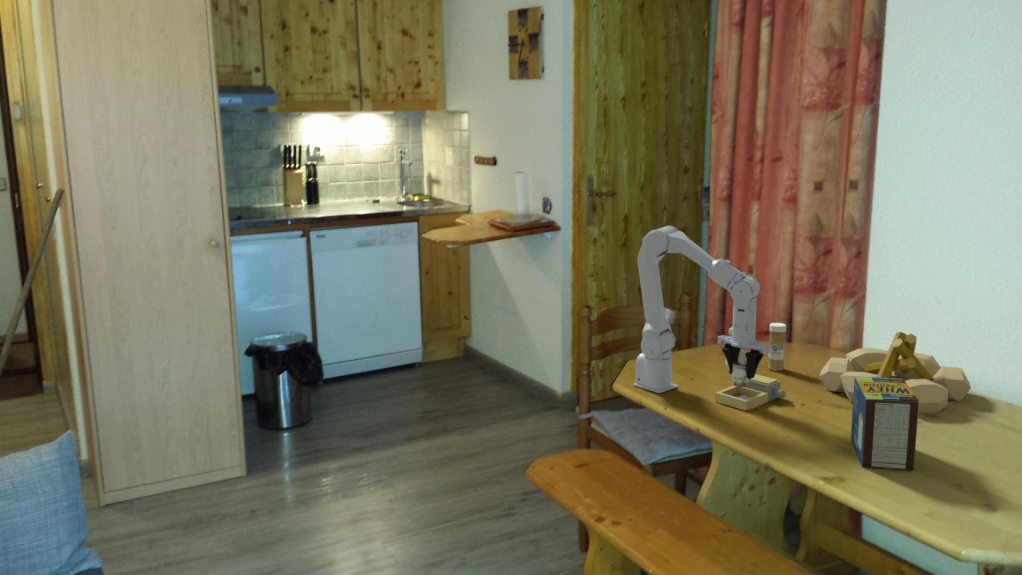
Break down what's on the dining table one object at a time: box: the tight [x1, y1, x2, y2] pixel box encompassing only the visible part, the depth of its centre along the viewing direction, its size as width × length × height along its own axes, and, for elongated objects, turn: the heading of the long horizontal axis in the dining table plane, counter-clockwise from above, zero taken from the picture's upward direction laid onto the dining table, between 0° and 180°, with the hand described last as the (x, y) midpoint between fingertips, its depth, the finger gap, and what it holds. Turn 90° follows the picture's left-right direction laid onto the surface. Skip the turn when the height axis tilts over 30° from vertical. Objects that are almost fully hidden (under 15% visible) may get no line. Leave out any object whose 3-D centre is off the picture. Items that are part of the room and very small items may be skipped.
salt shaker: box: [724, 326, 746, 373], centre depth 245 cm, size 6×6×13 cm
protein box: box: [850, 376, 919, 471], centre depth 185 cm, size 10×15×16 cm
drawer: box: [714, 373, 787, 412], centre depth 221 cm, size 12×15×5 cm
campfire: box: [819, 331, 972, 415], centre depth 224 cm, size 35×34×17 cm
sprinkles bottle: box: [767, 322, 787, 372], centre depth 246 cm, size 5×5×14 cm
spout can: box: [731, 360, 751, 387], centre depth 219 cm, size 5×5×6 cm
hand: (742, 375), depth 219 cm, fingers closed on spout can, 5 cm apart
